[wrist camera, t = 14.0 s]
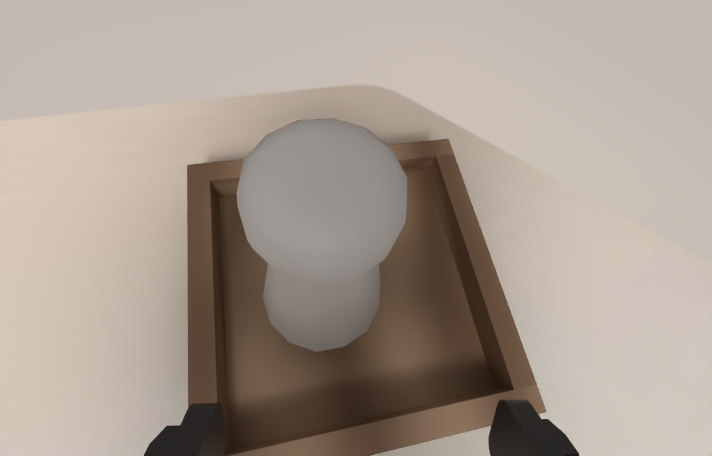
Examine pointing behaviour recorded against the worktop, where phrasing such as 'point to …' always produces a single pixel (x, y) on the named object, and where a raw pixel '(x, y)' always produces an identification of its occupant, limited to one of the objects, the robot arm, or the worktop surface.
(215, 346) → the walnut tray
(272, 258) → the salt shaker
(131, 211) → the worktop surface
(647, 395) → the worktop surface
